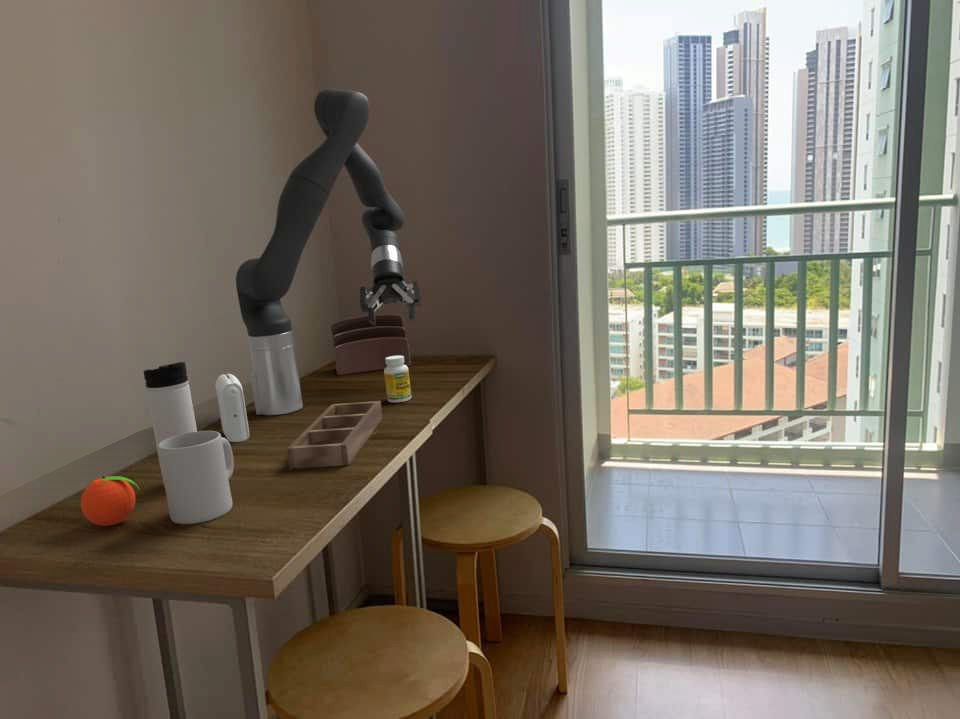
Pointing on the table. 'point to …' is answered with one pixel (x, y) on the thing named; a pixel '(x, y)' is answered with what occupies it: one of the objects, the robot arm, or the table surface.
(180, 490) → the mug
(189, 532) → the table surface
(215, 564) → the table surface
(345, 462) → the compartment tray
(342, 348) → the letter holder
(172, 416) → the travel mug
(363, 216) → the robot arm
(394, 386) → the supplement bottle
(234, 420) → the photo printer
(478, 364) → the table surface
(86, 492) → the clementine
